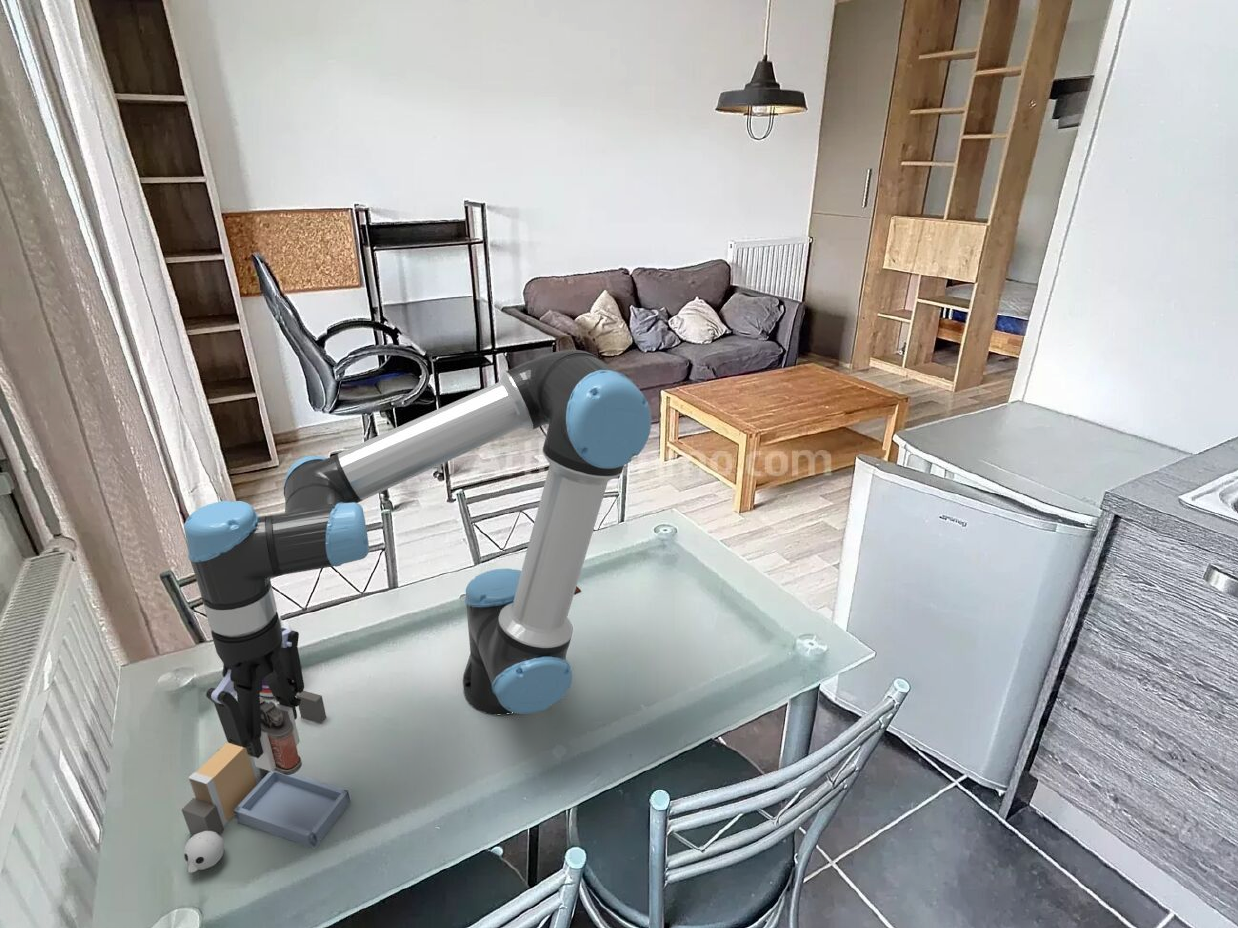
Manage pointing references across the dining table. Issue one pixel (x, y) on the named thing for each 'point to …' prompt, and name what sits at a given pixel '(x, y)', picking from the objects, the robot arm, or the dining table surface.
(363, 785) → the dining table surface
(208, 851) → the figurine
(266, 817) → the tray
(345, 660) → the dining table surface
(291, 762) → the lighter
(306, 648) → the dining table surface
